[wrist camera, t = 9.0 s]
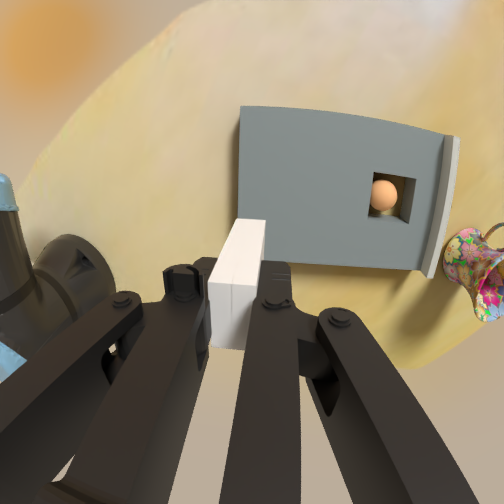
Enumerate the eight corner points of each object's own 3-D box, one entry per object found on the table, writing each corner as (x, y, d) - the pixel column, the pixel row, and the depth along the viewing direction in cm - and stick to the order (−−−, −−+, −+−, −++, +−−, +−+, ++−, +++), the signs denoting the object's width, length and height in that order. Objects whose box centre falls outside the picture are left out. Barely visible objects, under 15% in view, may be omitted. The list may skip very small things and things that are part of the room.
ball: (358, 206, 31) (379, 215, 28) (362, 175, 30) (384, 182, 27) (379, 205, 32) (400, 214, 29) (383, 177, 31) (405, 183, 28)
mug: (473, 283, 34) (507, 321, 25) (430, 280, 35) (463, 323, 25) (495, 210, 30) (540, 237, 20) (452, 199, 30) (499, 226, 20)
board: (240, 248, 36) (234, 266, 31) (244, 108, 29) (237, 104, 24) (417, 260, 34) (432, 278, 30) (439, 135, 27) (460, 138, 23)
